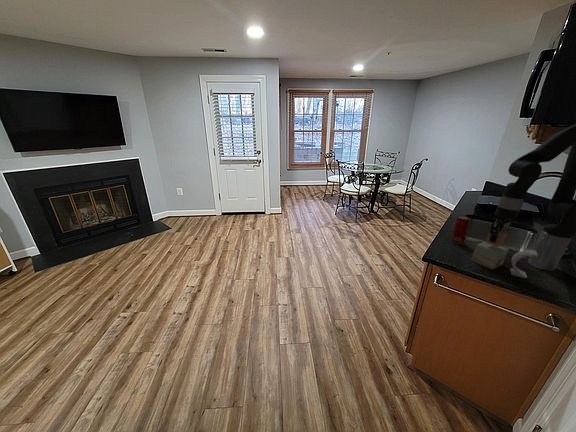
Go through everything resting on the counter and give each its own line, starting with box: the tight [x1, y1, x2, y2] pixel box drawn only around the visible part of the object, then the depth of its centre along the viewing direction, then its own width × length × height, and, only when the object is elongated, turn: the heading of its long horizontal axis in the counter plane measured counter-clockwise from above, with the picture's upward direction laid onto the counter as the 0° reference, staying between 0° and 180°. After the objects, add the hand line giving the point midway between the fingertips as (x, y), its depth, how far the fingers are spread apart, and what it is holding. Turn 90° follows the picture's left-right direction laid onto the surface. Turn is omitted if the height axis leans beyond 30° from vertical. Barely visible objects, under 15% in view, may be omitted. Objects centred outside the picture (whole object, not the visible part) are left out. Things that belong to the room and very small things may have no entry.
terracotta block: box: [484, 230, 509, 247], centre depth 109 cm, size 5×5×6 cm
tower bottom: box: [470, 252, 506, 271], centre depth 113 cm, size 9×9×4 cm
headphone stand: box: [509, 249, 538, 279], centre depth 104 cm, size 5×6×12 cm
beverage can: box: [451, 215, 470, 245], centre depth 131 cm, size 6×6×15 cm
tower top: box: [473, 240, 509, 262], centre depth 112 cm, size 9×9×4 cm
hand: (495, 240), depth 110 cm, fingers closed on terracotta block, 5 cm apart
